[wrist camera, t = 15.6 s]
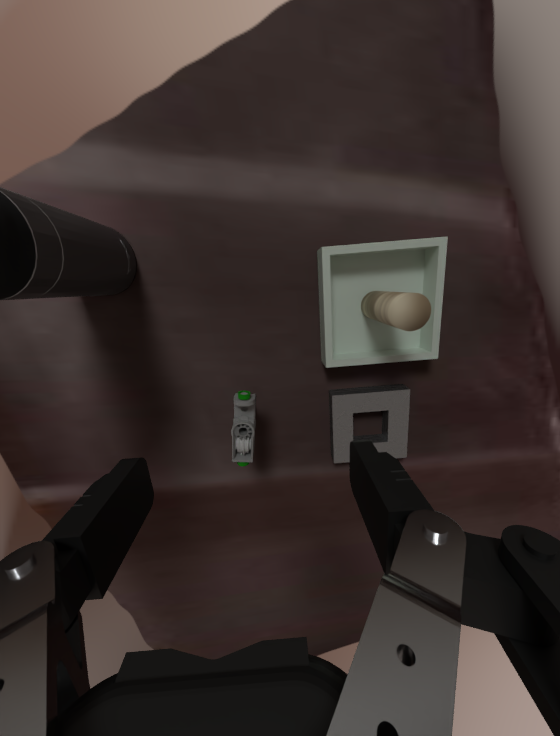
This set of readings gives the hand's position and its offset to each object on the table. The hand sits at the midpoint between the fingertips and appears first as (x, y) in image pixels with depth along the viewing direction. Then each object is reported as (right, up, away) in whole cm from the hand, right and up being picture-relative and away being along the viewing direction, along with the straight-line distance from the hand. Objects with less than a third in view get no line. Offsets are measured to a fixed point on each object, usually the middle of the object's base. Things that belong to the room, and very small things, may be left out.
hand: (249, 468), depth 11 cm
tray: (+15, +13, +30) cm, 37 cm away
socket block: (+16, -5, +36) cm, 39 cm away
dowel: (+15, +13, +30) cm, 36 cm away
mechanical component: (-4, -2, +35) cm, 35 cm away
